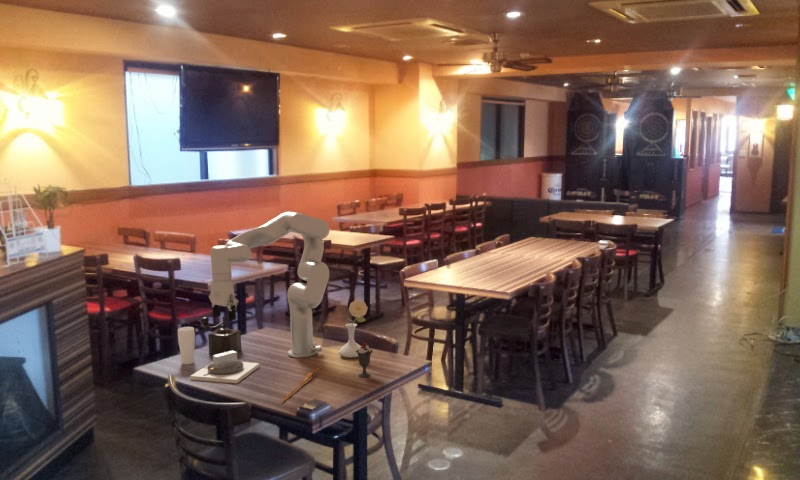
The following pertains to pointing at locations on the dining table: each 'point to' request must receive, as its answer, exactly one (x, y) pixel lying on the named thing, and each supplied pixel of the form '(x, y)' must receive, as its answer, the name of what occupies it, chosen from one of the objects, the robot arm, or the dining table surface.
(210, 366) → the dial
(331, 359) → the dining table surface
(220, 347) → the coffee grinder
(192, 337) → the drinking glass
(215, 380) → the dial plate
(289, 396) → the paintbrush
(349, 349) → the flower in vase
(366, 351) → the sundae
